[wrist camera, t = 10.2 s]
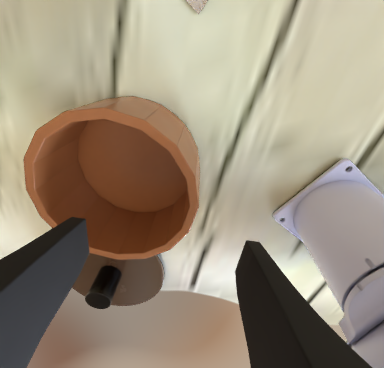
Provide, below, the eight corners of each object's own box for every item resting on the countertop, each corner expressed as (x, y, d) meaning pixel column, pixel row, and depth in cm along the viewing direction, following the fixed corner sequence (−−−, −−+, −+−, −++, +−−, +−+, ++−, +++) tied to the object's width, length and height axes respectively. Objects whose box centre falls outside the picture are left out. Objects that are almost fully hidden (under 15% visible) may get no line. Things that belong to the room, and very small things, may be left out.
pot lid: (185, 262, 25) (182, 299, 21) (131, 309, 30) (120, 346, 26) (90, 205, 22) (65, 235, 18) (47, 268, 27) (19, 303, 23)
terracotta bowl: (225, 156, 19) (234, 190, 13) (153, 232, 23) (138, 279, 18) (112, 62, 16) (67, 59, 10) (54, 170, 20) (1, 205, 15)
